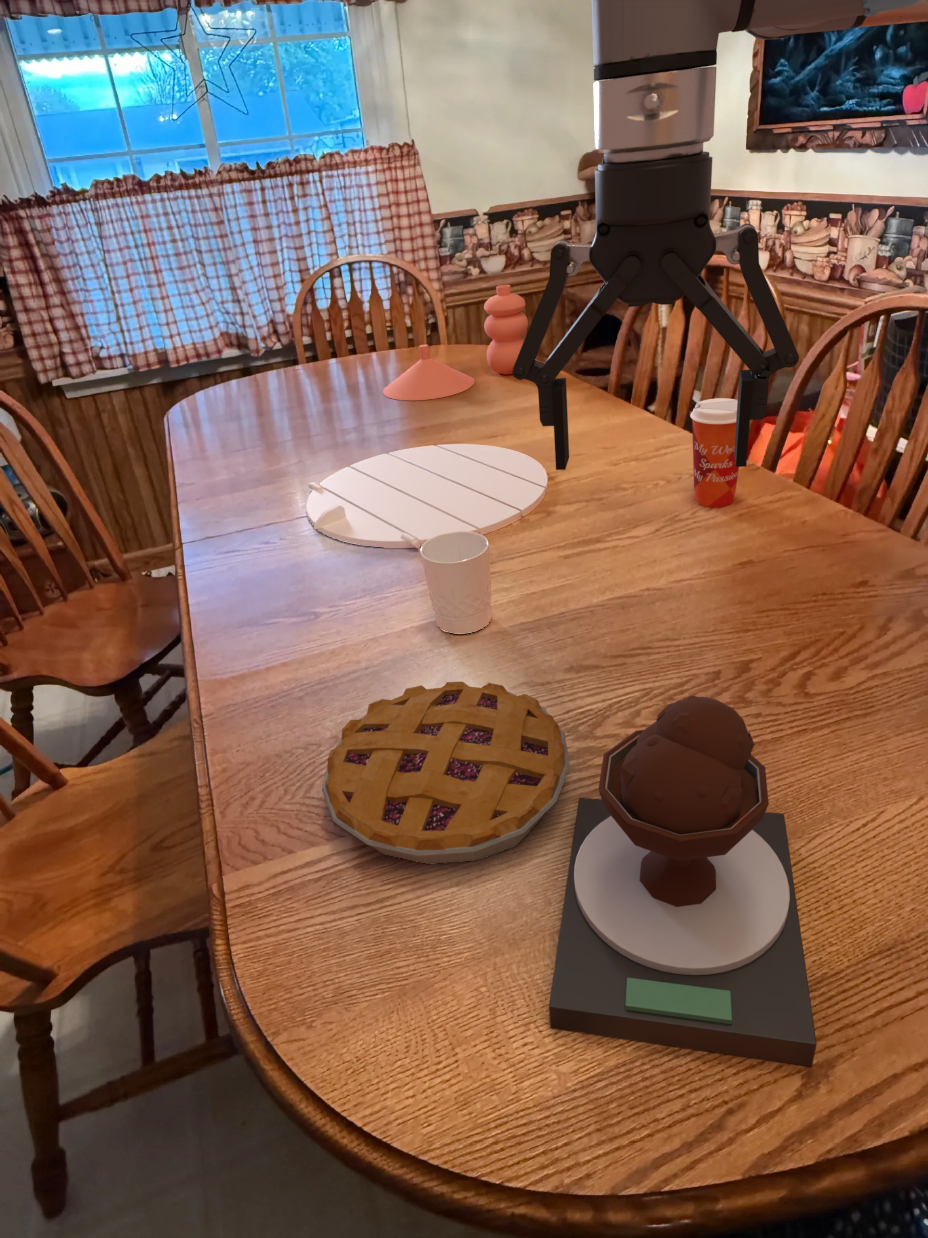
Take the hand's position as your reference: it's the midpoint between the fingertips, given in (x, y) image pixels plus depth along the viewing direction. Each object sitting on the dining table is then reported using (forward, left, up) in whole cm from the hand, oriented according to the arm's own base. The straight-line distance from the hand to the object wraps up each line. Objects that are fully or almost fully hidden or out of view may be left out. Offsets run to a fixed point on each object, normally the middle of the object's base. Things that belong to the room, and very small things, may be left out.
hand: (649, 462), depth 64 cm
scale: (-3, +22, -27) cm, 35 cm away
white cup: (+22, -18, -27) cm, 39 cm away
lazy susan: (+37, -56, -27) cm, 72 cm away
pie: (+17, +10, -27) cm, 33 cm away
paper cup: (-8, -53, -27) cm, 60 cm away
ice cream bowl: (-3, +21, -24) cm, 31 cm away
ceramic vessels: (+46, -121, -27) cm, 132 cm away
